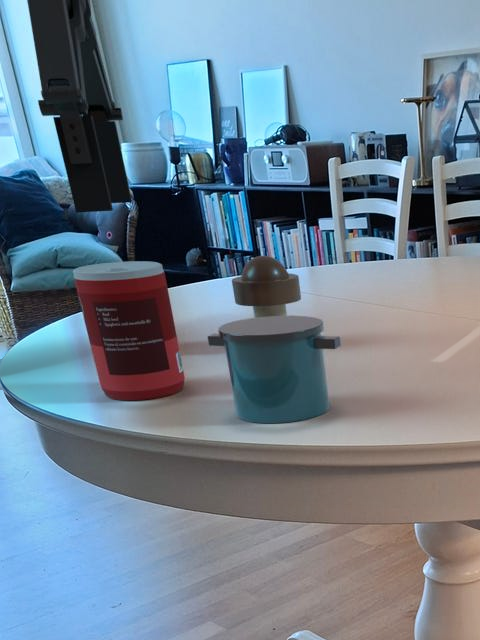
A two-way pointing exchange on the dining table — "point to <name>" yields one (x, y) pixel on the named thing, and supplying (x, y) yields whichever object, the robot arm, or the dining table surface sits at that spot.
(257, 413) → the enamel pot
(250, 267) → the wooden mushroom
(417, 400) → the dining table surface
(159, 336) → the canned food
